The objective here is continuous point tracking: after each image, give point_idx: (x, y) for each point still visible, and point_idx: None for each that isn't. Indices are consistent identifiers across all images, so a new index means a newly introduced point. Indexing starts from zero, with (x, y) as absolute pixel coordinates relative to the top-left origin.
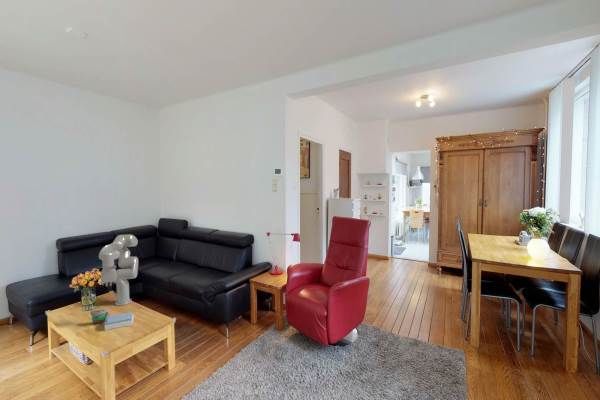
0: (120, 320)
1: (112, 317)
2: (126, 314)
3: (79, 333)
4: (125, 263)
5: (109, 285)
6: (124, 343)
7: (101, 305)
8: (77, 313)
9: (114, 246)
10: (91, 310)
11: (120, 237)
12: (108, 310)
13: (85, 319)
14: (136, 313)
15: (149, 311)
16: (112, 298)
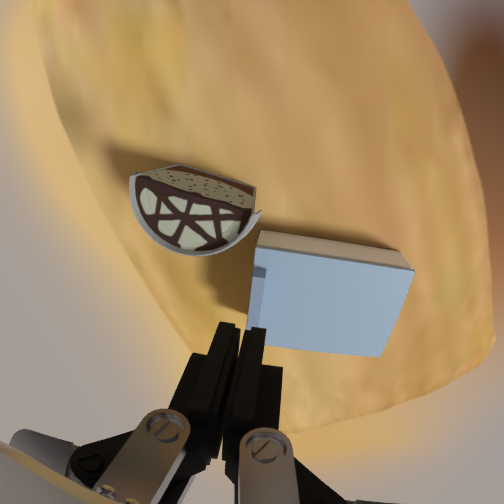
0: (326, 349)
1: (287, 284)
2: (372, 290)
3: (140, 270)
4: None
5: (228, 470)
6: (314, 426)
7: None
8: (97, 5)
9: None
10: (130, 181)
11: None
12: (259, 214)
13: (133, 98)
14: (427, 191)
15: (482, 214)
16: None
